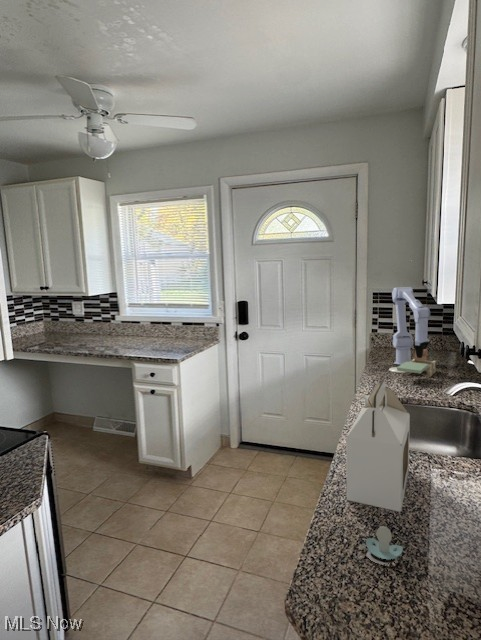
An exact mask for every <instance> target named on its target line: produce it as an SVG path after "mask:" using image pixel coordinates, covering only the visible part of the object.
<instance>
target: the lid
mask: <svg viewBox="0 0 481 640" xmlns="http://www.w3.org/2000/svg"><path fill="white" fill-rule="evenodd" d="M396 367H397V371H405V372H412V373H415V374H422V373H423V372H425V371H424V370H425V369H427V368H428V367H429V364H424V363H415V362H407V361H406V362H404V363H403V364H401V365H398V366H396Z"/></svg>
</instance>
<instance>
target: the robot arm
mask: <svg viewBox="0 0 481 640" xmlns="http://www.w3.org/2000/svg"><path fill="white" fill-rule="evenodd" d="M391 297H392V302H393V303H394V305H395V313H396V328H397V329H396V330H397V331H396V332H395V333H394V334H393V335H392V346H393V347H394V348H395V361H394V362H393V365H398V366H400V365H401V364H403V363H404V362H406V361H407V362H410V361H411V360H412V359H411V358H412V357H411V356H412V355H411V354H412V351H411V348H412V347H413V348H414V352H415V351H416V355H417V358H422V355H423V350H424V349H428V346H429V344H430V339H428V330H429V329H428V328H429V327H428V324H429V322H428V321H429V319H430V317H431V311H430V308H429V307H428V306H427V307H426V306H424V305H423V304H422V302H421V301H420V300H419V299H416V298H415V296H414V290H413V288H412V287H411V286H407V287H406V286H405V287H403V286H402V287H394V288H393V289H392V292H391ZM406 303H408V306H409V308H410V309H411V311H412V312H413V317H414V322H415V332H414V333H415V339H414V340H413V337H412V333H410V332H408V328H407V327H408V326H407V317H406V306H405V304H406Z"/></svg>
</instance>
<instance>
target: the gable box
mask: <svg viewBox="0 0 481 640" xmlns="http://www.w3.org/2000/svg"><path fill="white" fill-rule="evenodd" d="M369 395H370V396H369V398H368V403H367V404H366V405H365V404H364V407H362V408H361V410H360V411H359V413H358V415H357V417H356V419H355V420H354V422H353V424H352V426H351V427H350V429H349V431H348V433H347V435H346V437H345V438H346V439H345V442H346V443H345V445H346V447H345V448H346V450H345V451H346V452H345V454H346V455H345V457H346V458H345V459H346V461H345V462H346V464H345V465H346V468H345V469H346V500H347V501H349V502H354V503H357V504H358V503H360V504H363V505H367V506H368V505H369V506H371V507H377V508H381V509H386V510H390V511H394V512H402V510H403V503H404V497H405V492H406V487H407V483H408V477H409V472H410V470H409V469H410V428H411V427H410V426H411V425H410V421H411V419H410V418H411V417H410V415H411V414H410V413H409V412H408V410H407V409H406V408H405V406H404V405H403V404H402V402H401V401H400V399H399V398H398V397H397V395H396V394H395V391H393V390H392V389H391V388H389V387H387V386H386V379H385V378H383V379H382V380H381V383H379V381H377V383H375V386H374V387H373V389H372V391H371V393H370V394H369ZM386 397H387V406H386Z"/></svg>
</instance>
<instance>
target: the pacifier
mask: <svg viewBox="0 0 481 640" xmlns="http://www.w3.org/2000/svg"><path fill="white" fill-rule="evenodd" d="M392 536H393V535H392V532H391V530H390V528H388V527H387V526H384V525H383V526H382V525H381V526H380V527H378V528H377V530H376V538H377V539H378V540H376V539H374V538H371V537H368V538H366V539H365V546H366V547H367V550H368V551H367V552H366V558H367V557H368V558H369V559H370V560H371V561H373V562H375V563H379V564H382V565H383V564H388V563H389V564H390V563H391V562H384V561H381V560H383V559H386V560H385V561H392V560H393V559H395V561H396V560H397V559H398V557H400V556H401V555H402V553H403V551H404V550H403V546H401V545H397V544H393V545H392V544H391V545H390V543H391V541H392ZM373 544H374V545H373ZM371 554H372V555H373V556H375V557H376V558H378V559H380V558H381V559H380V560H378V559H376V558H375V557H373V556H372V555H371ZM368 558H367V559H368ZM369 559H368V560H369ZM391 559H392V560H391ZM370 560H369V561H370ZM371 561H370V562H371ZM395 561H394V560H393V561H392V563H394V562H395ZM373 562H372V563H373ZM396 562H397V561H396ZM396 562H395V563H396ZM375 563H374V564H375Z"/></svg>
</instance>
